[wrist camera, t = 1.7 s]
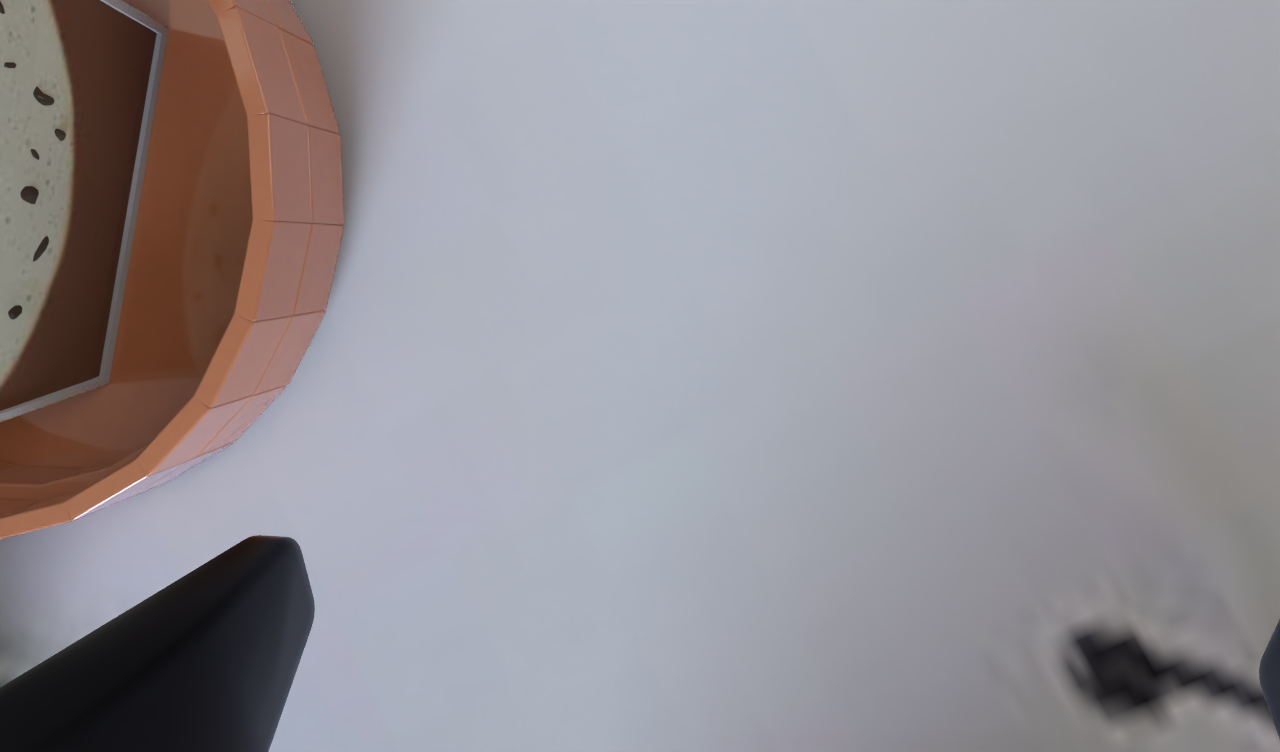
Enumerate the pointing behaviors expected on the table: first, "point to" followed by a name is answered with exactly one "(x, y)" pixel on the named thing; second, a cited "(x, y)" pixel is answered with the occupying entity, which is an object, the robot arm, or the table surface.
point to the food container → (69, 187)
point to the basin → (200, 267)
